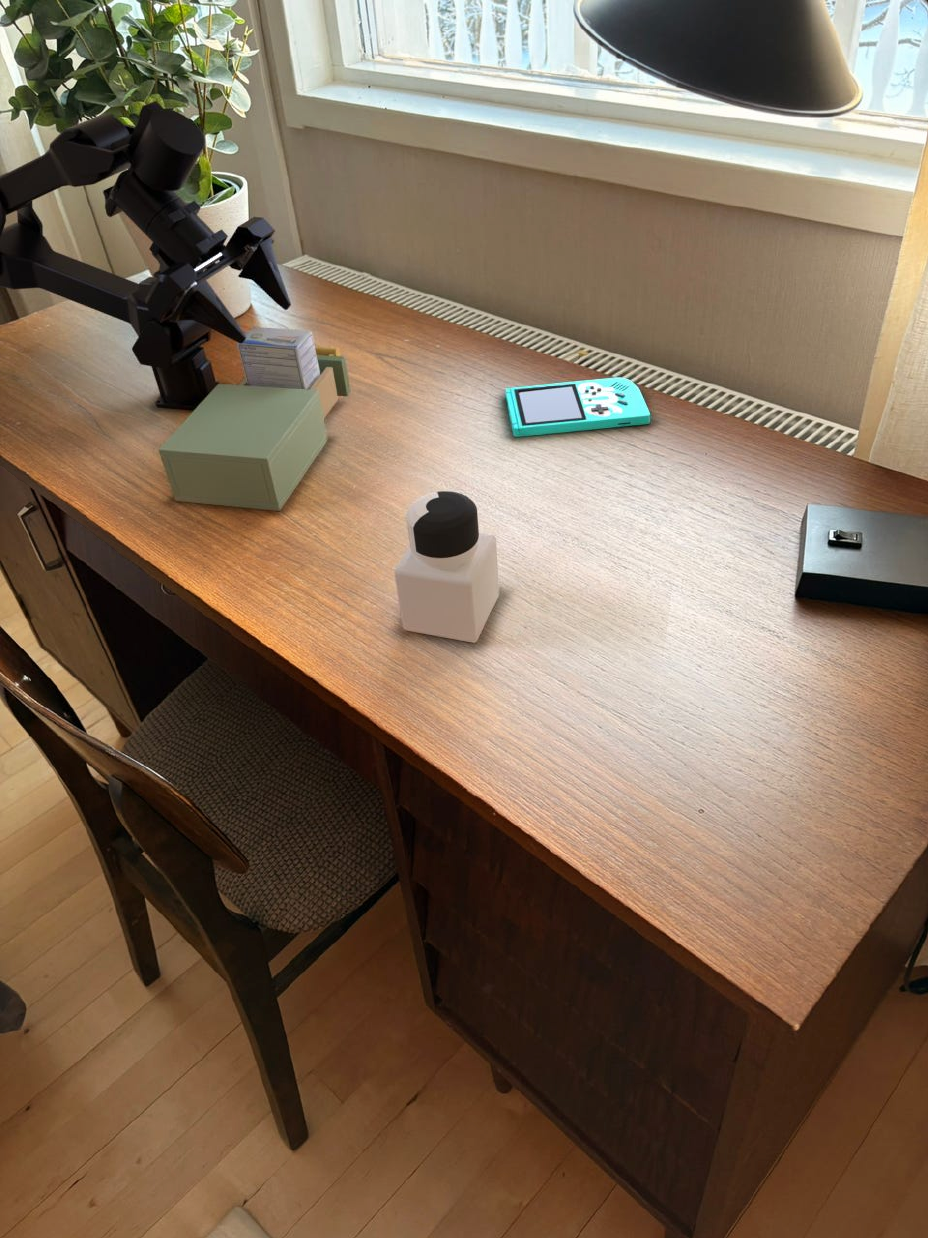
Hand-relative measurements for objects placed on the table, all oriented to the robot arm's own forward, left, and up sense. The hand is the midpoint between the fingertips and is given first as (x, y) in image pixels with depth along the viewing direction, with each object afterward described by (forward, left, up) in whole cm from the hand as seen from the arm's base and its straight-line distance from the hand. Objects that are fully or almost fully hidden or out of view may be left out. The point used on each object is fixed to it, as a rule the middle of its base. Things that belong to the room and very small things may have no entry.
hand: (266, 323), depth 109 cm
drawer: (+1, +1, -11) cm, 11 cm away
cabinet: (+1, -12, -12) cm, 17 cm away
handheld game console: (+35, +6, -12) cm, 38 cm away
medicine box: (+1, 0, -10) cm, 10 cm away
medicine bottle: (+30, -32, -12) cm, 46 cm away
